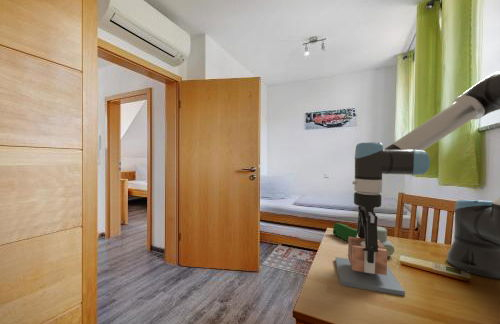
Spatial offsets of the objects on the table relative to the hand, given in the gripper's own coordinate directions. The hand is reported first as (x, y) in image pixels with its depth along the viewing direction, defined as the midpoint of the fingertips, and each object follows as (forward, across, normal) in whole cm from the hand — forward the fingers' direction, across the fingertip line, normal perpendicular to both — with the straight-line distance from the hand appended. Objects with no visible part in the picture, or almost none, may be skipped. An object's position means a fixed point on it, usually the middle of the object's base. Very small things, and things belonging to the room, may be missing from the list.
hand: (365, 264), depth 68 cm
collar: (0, 0, 0) cm, 0 cm away
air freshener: (+4, -19, +8) cm, 21 cm away
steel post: (+2, 0, 0) cm, 2 cm away
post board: (+3, 0, 0) cm, 3 cm away
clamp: (+4, -33, -1) cm, 34 cm away
